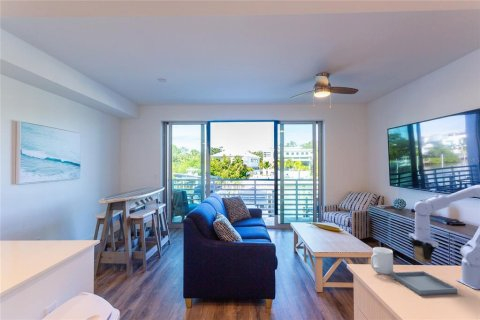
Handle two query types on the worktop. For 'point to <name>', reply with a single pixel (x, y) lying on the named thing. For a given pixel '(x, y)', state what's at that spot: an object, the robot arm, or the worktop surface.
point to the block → (420, 254)
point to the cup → (382, 260)
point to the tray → (423, 283)
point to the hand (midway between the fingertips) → (422, 257)
